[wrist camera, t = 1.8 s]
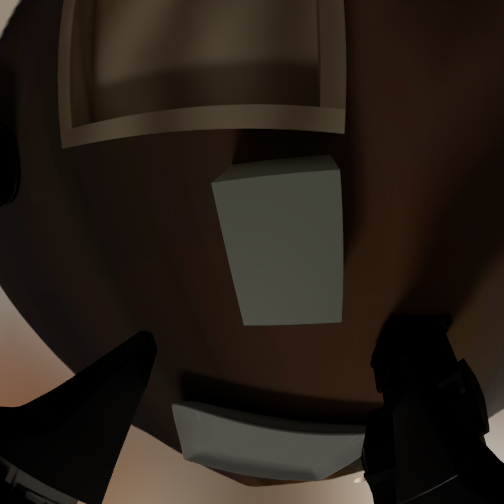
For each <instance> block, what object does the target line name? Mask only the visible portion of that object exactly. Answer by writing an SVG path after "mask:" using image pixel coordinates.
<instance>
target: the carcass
mask: <svg viewBox="0 0 504 504" xmlns="http://www.w3.org/2000/svg"><path fill="white" fill-rule="evenodd" d="M58 104H59V120H60V131H61V141H62V149H64V148H68V147H73V146H77V145H82V144H87V143H92V142H98V141H103V140H109V139H115V138H122V137H129V136H136V135H144V134H153V133H163V132H174V131H187V130H204V129H238V128H255V129H289V130H306V131H320V132H331V133H340V134H344V132H345V110H346V34H345V14H344V0H64V4H63V11H62V18H61V27H60V38H59V53H58Z"/></svg>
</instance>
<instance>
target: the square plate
mask: <svg viewBox="0 0 504 504" xmlns="http://www.w3.org/2000/svg"><path fill="white" fill-rule="evenodd" d="M172 410H173V415H174V420H175V424H176V427H177V431H178V435H179V439H180V443H181V447H182V453H183V457H184V459H185V460H188V461H191V462H195V463H198V464H201V465H205V466H209V467H212V468H216V469H220V470H224V471H229V472H233V473H238V474H243V475H249V476H255V477H263V478H271V479H282V480H303V481H319V480H322V479H324V478H325V477H327V476H329V475H331V474H333V473H335V472H337V471H338V470H340V469H342V468H344V467H345V466H347V465H348V464H350V463H352V462H353V461H355V460H356V459H358V458H359V457H361V453H362V447H363V442H364V437H365V432H366V426H364V425H346V424H330V423H319V422H308V421H299V420H291V419H284V418H277V417H271V416H265V415H259V414H254V413H249V412H244V411H239V410H234V409H229V408H225V407H220V406H216V405H211V404H207V403H202V402H196V401H184V402H180V403H173V404H172Z"/></svg>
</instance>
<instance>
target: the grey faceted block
mask: <svg viewBox="0 0 504 504" xmlns="http://www.w3.org/2000/svg"><path fill="white" fill-rule="evenodd" d="M211 184H212V189H213V193H214V198H215V203H216V207H217V212H218V216H219V221H220V225H221V230H222V234H223V239H224V243H225V247H226V252H227V256H228V260H229V265H230V269H231V273H232V277H233V282H234V286H235V290H236V294H237V298H238V302H239V307H240V311H241V315H242V319H243V323H244V325H292V324H317V323H335V322H341V319H342V297H343V216H342V194H341V177H340V169H339V167H338V166H337V164H336V163H335V161H334V160H333V158H332V157H331V155H318V156H305V157H294V158H283V159H274V160H265V161H257V162H249V163H242V164H235V165H231V166H230V167H229V168H228V169H226V170H225V171H224V172H223V173H222V174H221V175H220V176H219V177H217V178H216V179H215V180H214V181H213V182H212V183H211Z"/></svg>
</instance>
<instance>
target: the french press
mask: <svg viewBox="0 0 504 504" xmlns="http://www.w3.org/2000/svg"><path fill="white" fill-rule="evenodd" d="M19 185H20V161H19V155H18V150H17V146H16V143H15V140H14V137H13V135H12V133H11V131H10V130H9V129H8V128H7V127H6V126H5V125H4V124H0V207H1V206H3V205H8V204H10V203H11V202H13V201H14V199H15V198H16V196H17V193H18V190H19Z"/></svg>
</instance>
